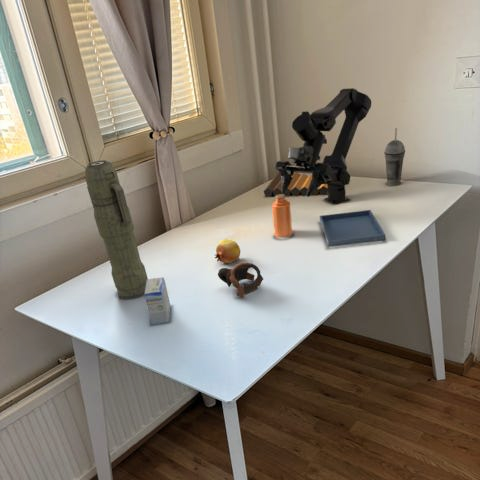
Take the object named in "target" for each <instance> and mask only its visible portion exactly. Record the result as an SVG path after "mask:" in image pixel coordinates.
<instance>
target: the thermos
mask: <svg viewBox="0 0 480 480" xmlns="http://www.w3.org/2000/svg"><path fill="white" fill-rule="evenodd" d="M84 169H85V172H84V173H85V174H84V177H85V178H84V179H85V183H86V188H87V191H88V195H89V199H90V201H91V205H92V208H93V217H94V220H95V221H94V222H95V224H96V227H97V230H98V234H99V236H100V237H101V239H102V241H103V244H104V247H105V250H106V253H107V257H108V259H109V264H110V266H111V277H112V281H113V283H114V287H115V288H116V290H117V294H118V296H119V297H120V298H121V299H124V300H126V299H128V300H130V299H131V300H132V299H134V298H135V299H136V298H139V297H141V296H144V292H145V287H146V281H147V280H148V279H149V278H148V274H147V270H146V267H145V264H144V263H143V262H142V259H141V256H140V252H139V248H138V245H137V240H136V237H135V233H134V228H135V227H134V222H133V218H132V215H131V211H130V208H129V207H128V203H127V198H126V195H125V191H124V188H123V187H122V185H121V183H120V180H119V176H118V173H117V170H116V169H115V167H114V166H113V164H112V162H111V161H108V160H106V159H105V160H103V159H102V160H96V161H92V162H90V163H87V165H86V166H85V168H84Z"/></svg>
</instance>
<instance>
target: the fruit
mask: <svg viewBox="0 0 480 480" xmlns="http://www.w3.org/2000/svg"><path fill="white" fill-rule="evenodd" d="M215 253H216V254H214V259H216V262H222V263H223V264H231V263H233V262H235V261H236V260H238V259H239V258H240V256H241V248H240V246H239V244H238V243H237V242H236V241H234V240H232V239H228V238H224V239H222V240H220V242H218V244H217V246H216V248H215Z"/></svg>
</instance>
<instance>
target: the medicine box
mask: <svg viewBox="0 0 480 480" xmlns="http://www.w3.org/2000/svg"><path fill="white" fill-rule="evenodd" d="M143 296H144V301H145V305H146V308H147V312H148V316H149V319H150V323H151V325H160V324H166V323H170V318H171V317H170V316H171V312H170V311H171V303H170V297H169V293H168V289H167V284H166V280H165V278H164V277H162V276H161V277H154V278H148V280H147V281H146V287H145V292H144V294H143Z"/></svg>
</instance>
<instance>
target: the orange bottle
mask: <svg viewBox="0 0 480 480" xmlns="http://www.w3.org/2000/svg"><path fill="white" fill-rule="evenodd" d="M274 198H275V200H274V201H273V203H272V204H271V211H272V212H271V213H272V214H271V215H272V223H273V231H274V236H275V237H276V238H287V237H290V236H292V235H293V223H292V222H293V221H292V211H291V209H292V208H291V202H290V201H288V200H287V199H285V198H286V196H285V195H284V194H279V195H276V196H274Z"/></svg>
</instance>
